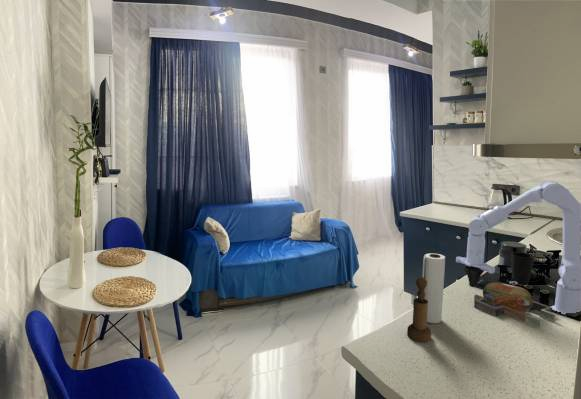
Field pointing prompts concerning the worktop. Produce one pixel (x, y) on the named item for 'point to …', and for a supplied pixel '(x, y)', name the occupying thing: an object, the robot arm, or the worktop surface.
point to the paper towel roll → (434, 285)
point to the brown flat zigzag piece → (536, 308)
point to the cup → (521, 267)
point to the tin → (508, 296)
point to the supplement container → (509, 252)
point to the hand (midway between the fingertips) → (472, 286)
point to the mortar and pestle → (420, 315)
